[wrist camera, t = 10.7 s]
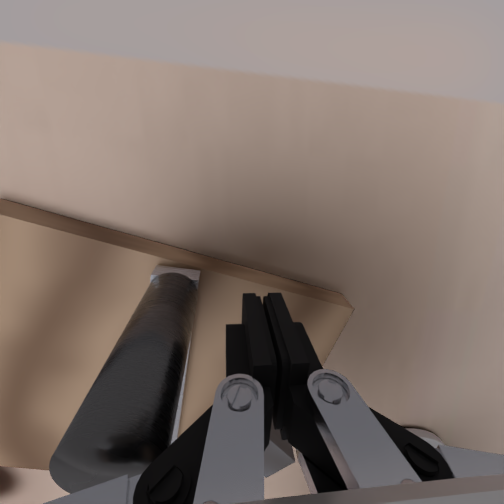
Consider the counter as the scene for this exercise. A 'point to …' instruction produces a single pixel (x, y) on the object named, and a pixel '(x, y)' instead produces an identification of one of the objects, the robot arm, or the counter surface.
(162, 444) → the lever
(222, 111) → the counter surface
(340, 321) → the board
